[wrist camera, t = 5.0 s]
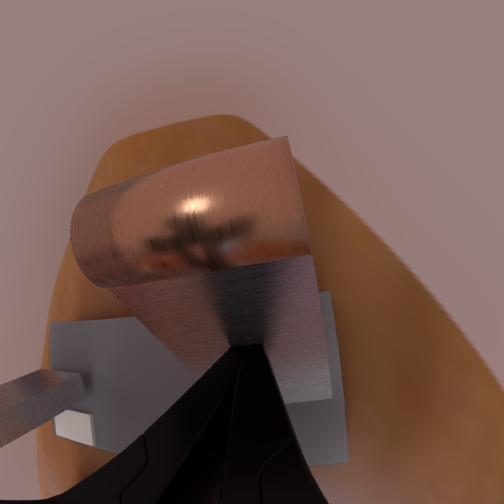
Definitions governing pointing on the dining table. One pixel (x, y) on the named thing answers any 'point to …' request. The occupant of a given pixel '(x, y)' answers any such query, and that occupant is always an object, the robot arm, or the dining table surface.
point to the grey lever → (36, 400)
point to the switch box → (168, 387)
